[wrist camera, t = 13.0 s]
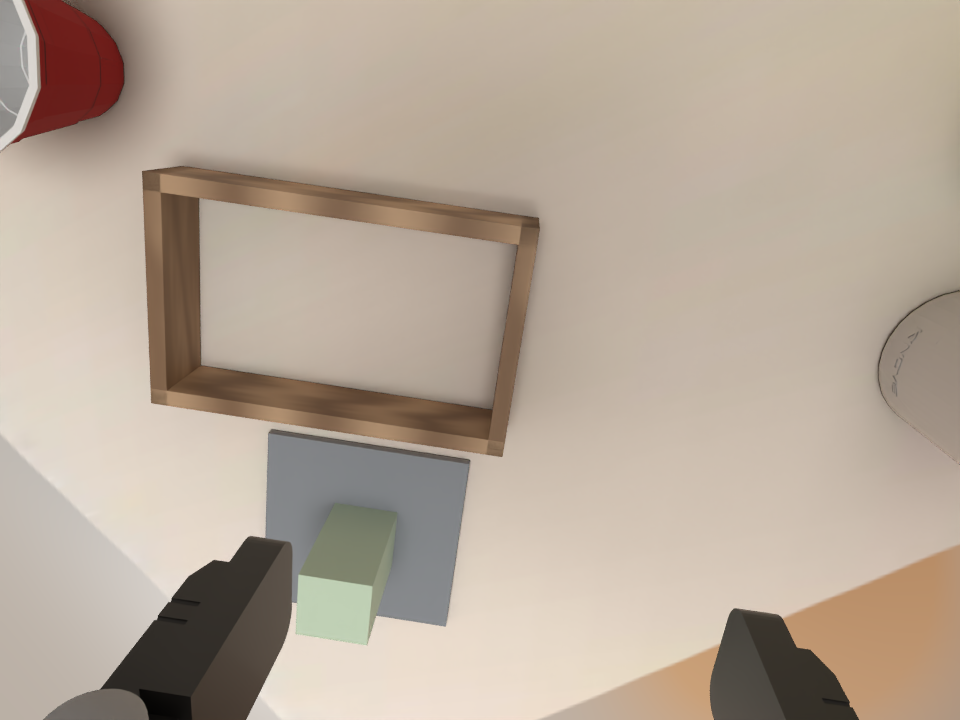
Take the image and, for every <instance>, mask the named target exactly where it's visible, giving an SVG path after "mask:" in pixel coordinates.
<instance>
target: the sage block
mask: <svg viewBox="0 0 960 720" xmlns="http://www.w3.org/2000/svg"><path fill="white" fill-rule="evenodd" d="M396 522H397V512H391V511H385V510H378V509H372V508H365V507H359V506H352V505H346V504H340V503H335V504H334V506H333V508H332V510H331V512H330V514H329V516H328V518H327V520H326V522H325V524H324V526H323V528H322V530H321V531H320V533H319V535H318V537H317V539H316V541H315V543H314V545H313V547H312V549H311V551H310V553H309V555H308V557H307V559H306V561H305V563H304V565H303V567H302V569H301V571H300V573H299V575H298V595H297V615H296V634H299V635H305V636H311V637H318V638H324V639H330V640H336V641H343V642H349V643H355V644H361V645H367V644H368V640H369V637H370V634H371V631H372V628H373V624H374V621H375V618H376V615H377V611H378V608H379V605H380V602H381V599H382V595H383V592H384V589H385V586H386V582H387V579H388V576H389V573H390V570H391V566H392V560H393V550H394V541H395V532H396Z"/></svg>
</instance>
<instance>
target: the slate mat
mask: <svg viewBox="0 0 960 720" xmlns="http://www.w3.org/2000/svg"><path fill="white" fill-rule="evenodd" d="M469 463H470V460H466V459H460V458H453V457H447V456H440V455H434V454H427V453H421V452H414V451H408V450H401V449H395V448H388V447H382V446H375V445H369V444H362V443H356V442H349V441H343V440H336V439H330V438H323V437H317V436H310V435H304V434H297V433H291V432H284V431H278V430H271V431H270V432H269V433H268V465H267V501H266V538H267V539H274V540H281V541H288V542H290V543H291V545H292V551H293V558H292V602H294V603H297V595H298V575H299V573H300V571H301V569H302V567H303V565H304V563H305V561H306V559H307V557H308V555H309V553H310V551H311V549H312V547H313V545H314V543H315V541H316V539H317V537H318V535H319V533H320V531H321V530H322V528H323V526H324V524H325V522H326V520H327V518H328V516H329V514H330V512H331V510H332V508H333V506H334V504H335V503H340V504H346V505H352V506H359V507H365V508H372V509H378V510H385V511H391V512H397V522H396V532H395V541H394V550H393V560H392V566H391V570H390V573H389V576H388V579H387V582H386V586H385V589H384V592H383V595H382V599H381V602H380V605H379V608H378V611H377V615H376V616H383V617H389V618H395V619H401V620H408V621H414V622H420V623H427V624H433V625H439V626H445V627H446V621H447V614H448V608H449V601H450V594H451V587H452V580H453V573H454V566H455V560H456V553H457V546H458V539H459V532H460V525H461V518H462V511H463V505H464V498H465V491H466V484H467V477H468V470H469Z"/></svg>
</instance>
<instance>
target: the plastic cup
mask: <svg viewBox="0 0 960 720" xmlns="http://www.w3.org/2000/svg"><path fill="white" fill-rule="evenodd" d="M123 84H124V72H123V61H122V59H121V56H120V53H119V51H118V48H117V45H116V43H115V42H114V40H113V39H112V38H111V37H110V35H109V34H108V33H107V32H106V30H105V29H104V28H103V27H102V26H101V25H99V24H98V22H97V21H95V20H94V19H92V18H90V17H89V16H87V15H86V14H84V13H82V12H81V11H79V10H78V9H76V8H74V7H72V6H70V5H68V4H66V3H65V2H63V1H61V0H0V153H1V152H2V151H3V150H4V149H5V148H6V147H8V146H9V145H10V144H12V143H16V142H19V141H20V140H21V139H23V138H26V137H30V136H34V135H37V134H41V133H45V132H48V131H52V130H56V129H59V128H63V127H66V126H70V125H73V124H77V123H78V122H79V121H83V120H86V119H90V118H93V117H97V116H100V115H101V114H102V113H104V112H106V111H107V110H108V109H109V108H110V107H111V106H112V105H113V104H114V103H115V102H116V101H117V100H118V98H119V95H120V92H121V90H122V87H123Z"/></svg>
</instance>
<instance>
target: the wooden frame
mask: <svg viewBox="0 0 960 720" xmlns="http://www.w3.org/2000/svg"><path fill="white" fill-rule="evenodd" d="M142 179H143V205H144V230H145V256H146V281H147V307H148V332H149V358H150V383H151V403H154V404H160V405H167V406H173V407H180V408H186V409H193V410H199V411H206V412H212V413H219V414H225V415H232V416H238V417H245V418H251V419H258V420H264V421H271V422H278V423H284V424H291V425H297V426H304V427H310V428H317V429H323V430H330V431H336V432H343V433H349V434H356V435H362V436H369V437H375V438H382V439H388V440H395V441H401V442H408V443H414V444H421V445H427V446H434V447H441V448H447V449H454V450H460V451H467V452H473V453H480V454H486V455H493V456H499V457H502V456H503V450H504V444H505V438H506V432H507V426H508V420H509V413H510V407H511V401H512V395H513V389H514V383H515V377H516V371H517V365H518V359H519V353H520V347H521V340H522V334H523V328H524V322H525V316H526V310H527V304H528V298H529V292H530V286H531V280H532V273H533V267H534V261H535V255H536V249H537V243H538V237H539V231H540V227H539V218H534V217H527V216H521V215H514V214H507V213H500V212H493V211H486V210H479V209H473V208H466V207H459V206H452V205H445V204H438V203H432V202H425V201H418V200H411V199H404V198H397V197H390V196H384V195H377V194H370V193H363V192H356V191H349V190H342V189H336V188H329V187H322V186H315V185H308V184H301V183H295V182H288V181H281V180H274V179H267V178H260V177H253V176H247V175H240V174H233V173H226V172H219V171H212V170H205V169H199V168H192V167H185V166H179V167H171V168H163V169H155V170H147V171H142ZM199 198H203V199H210V200H216V201H223V202H230V203H237V204H244V205H250V206H257V207H264V208H271V209H278V210H285V211H291V212H298V213H305V214H312V215H319V216H325V217H332V218H339V219H346V220H353V221H359V222H366V223H373V224H380V225H387V226H393V227H400V228H407V229H414V230H421V231H427V232H434V233H441V234H448V235H455V236H462V237H468V238H475V239H482V240H489V241H496V242H502V243H509V244H516V245H518V247H517V253H516V260H515V266H514V273H513V279H512V286H511V292H510V299H509V305H508V312H507V318H506V325H505V331H504V337H503V344H502V350H501V357H500V363H499V370H498V376H497V383H496V389H495V396H494V402H493V409H492V410H489V409H482V408H476V407H469V406H463V405H456V404H449V403H443V402H436V401H430V400H423V399H416V398H410V397H403V396H397V395H390V394H384V393H377V392H370V391H364V390H357V389H351V388H344V387H338V386H331V385H324V384H318V383H311V382H305V381H298V380H292V379H285V378H278V377H272V376H265V375H259V374H252V373H245V372H239V371H232V370H226V369H219V368H213V367H206V366H201V353H200V263H199Z"/></svg>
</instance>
